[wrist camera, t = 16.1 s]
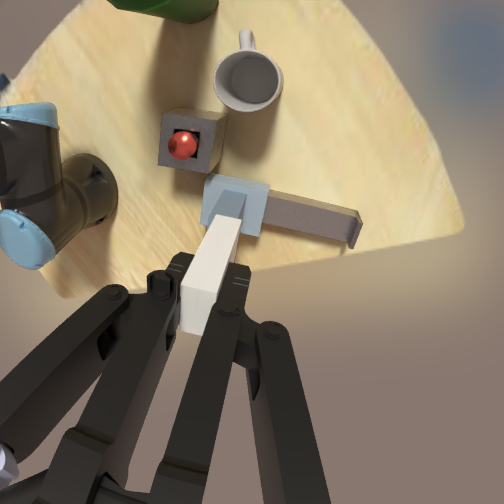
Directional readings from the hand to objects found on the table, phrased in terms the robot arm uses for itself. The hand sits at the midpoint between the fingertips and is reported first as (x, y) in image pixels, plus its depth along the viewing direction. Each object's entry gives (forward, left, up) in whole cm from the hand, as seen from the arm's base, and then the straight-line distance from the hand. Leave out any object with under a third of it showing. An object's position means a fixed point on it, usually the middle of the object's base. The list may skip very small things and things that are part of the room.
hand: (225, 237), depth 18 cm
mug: (-4, +10, -35) cm, 36 cm away
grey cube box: (-11, -2, -34) cm, 36 cm away
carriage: (-3, -12, -33) cm, 35 cm away
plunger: (-11, -2, -34) cm, 36 cm away
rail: (+5, -12, -34) cm, 37 cm away
